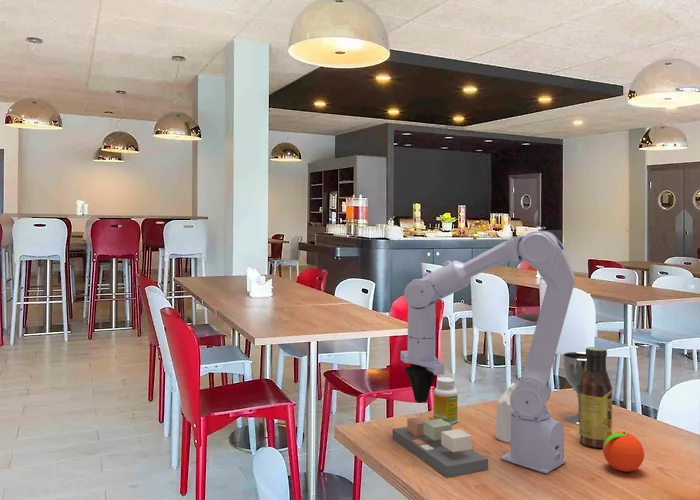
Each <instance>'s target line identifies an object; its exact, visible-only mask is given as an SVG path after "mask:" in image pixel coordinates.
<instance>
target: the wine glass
mask: <svg viewBox="0 0 700 500" xmlns="http://www.w3.org/2000/svg"><path fill="white" fill-rule="evenodd" d="M562 357H563V358H562V359H563V361H562V363H563V371H564V377H565V378H566V380H567V382H568V383H569V384H570V386H571V387H572V388H573V389H574V391H575V393H576V395H577V403H578V404H577V405H578V406H577V407H578V411H577V413H569V414H565V415H564V416H563V419H564V420H565V421H567V422H570V423H573V424H577V425H579V415H580V381H581V378H582V376H583V375H584V373H585V372H586V370H587V368H586V365H587V356H586V352H581V351H580V352H579V351H578V352H576V351H575V352H574V351H570V352H565V353H563V356H562Z"/></svg>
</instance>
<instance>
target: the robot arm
mask: <svg viewBox="0 0 700 500" xmlns="http://www.w3.org/2000/svg"><path fill="white" fill-rule="evenodd" d="M523 261H525V263H526V264H527V265H529V266H531V267H532V268H533V269H535V270H536V271H537V272H538V274H539V275H540V277H541V278H542V280H543V281H544V283H545V284H546V287H545V292H544V296H543V299H542V302H541V303H542V304H541V306H540V311H539V313H538V318H537V321H536V324H535V325H536V326H535V330H534V331H533V337H532V340H531V343H530V347H529V351H528V355H527V360H526V363H525V367H524V369H523V371H522V374H521V377H520V380H519V381H518V385H517V386H516V388H515V389H514V390H513V392H512V393H511V396H510V404H511V407H512V409H511V440H510V443H509V445H510V446H509V448H510V449H509V452H507V453H505V454H503V455H502V456H500V459H501V460H503V461H505V462H509V463H512V464H515V465H518V466H521V467H525V468H527V469H530V470H534V471H537V472H539V473H543V474H549V473H550V472H552V471H553V470H554V469H557V468H559V466H562V465H563V464H565V463H566V459H565V428H564V425H563V423H562V422H561V421H558V420H556V419H554V418H553V417H552V416H551V411H550V410H549V409H548V407H547V405H546V404H547V402H548V401H549V400H550V396H551V386H550V377H551V373H552V366H553V363H554V360H555V356H556V353H557V349H558V345H559V341H560V338H561V334H562V331H563V327H564V324H565V319H566V316H567V313H568V308H569V305H570V302H571V298H572V294H573V291H574V287H575V283H576V277H575V274H574V271H573V267H572V266H571V265H572V264H571V263H570V260H569V257H568V255H567V252H566V247H565V246H564V245H563V243H562V242H561V241H560V240H559V239H558V238H557V236H556V235H555V234H554V233H553V232H550V231H547V230H534V231H530V232H528V233H527V234H525V235H521V236H516V237H514V238H511V239H509V240H505V241H503V242H501V243H500V244H497V245H495V246H493V247H492V248H490V249H488V250H486V251H483V253H481V254H478V255H477V256H475V257H473V258H471V259H470V260H467V261H466V262H461V261H459V260H453V261H451V260H447V261H445V262H443V263H442V265H443V266H440V267H439V268H437V269H435V270H433V271H432V272H429V271H427V272H424V273H423V278H413V279H412V280H411V281H410V282H409V283H408V284H407V285H406V286H405V288H404V291H403V293H404V294H403V295H404V298H405V299H404V300H405V301H406V303H407V306H408V307H407V350H401V351H400V361H402V362H403V363H404V364H411V365H410V366H406V367H405V368H404V371H405V373H406V375H407V377H408V379H409V383H410V384H411V389H412V392H413V397H414V401H415V402H416V403H418V404H421V403H422V404H423V403H427V402H428V399H429V395H430V392H431V387H432V385H433V382H434V380H435V379H436V377H437V376H440V375H442V376H443V375H445V364H443V363H441V361H440V360H439V359H438V358H437V357H436V327H437V326H436V317H437V316H436V302H437V301H439V299H440V300H442V299H444V298H446V297H448V296H451V295H452V294H454V293H456V292H458V291H460V290H462V289H465V288H467V287H468V286H469V285H470V283H471V279H472V277H474V276H477V275H478V274H481V273H483V272H485V271H488V270H490V269H492V268H494V267H496V266H497V267H498V265H501V264H503V263H505V262H515V263H516V262H523Z"/></svg>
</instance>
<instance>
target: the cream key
mask: <svg viewBox="0 0 700 500" xmlns="http://www.w3.org/2000/svg"><path fill="white" fill-rule="evenodd" d="M441 445H443V446H444V447H446V448H447V449H449V450H450V451H452V452H457V451H463V450H468V449H472V435H471V434H469V433H467V432H465V430H462V429H460V428H455V429H452V430H449V431H443V432H441Z"/></svg>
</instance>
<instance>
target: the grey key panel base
mask: <svg viewBox="0 0 700 500" xmlns="http://www.w3.org/2000/svg"><path fill="white" fill-rule="evenodd" d="M391 431H392V437H391V438H392V439H393V440H394V441H395V442H396V443H398V444H400V445H402V447H404V448H406V449H407V450H408V451H409V452H411V453H412V454H413V455H415V456H416V457H417V458H419V459H420V460H422V461H423V462H425V463H426V464H428V465H429V466H430V467H431V468H433V469H434V470H436V471H437V472H439V473H440V474H441V475H442V476H444V477H446V478H450V477H456V476H457V477H458V476H462V475H466V474H473V473H477V472H482V471H488V470H489V458H488V457H486V456H484V455H483V454H481V453H479V452H478V451H476V450H474V449H473V448H471V449H468V450H463V451H457V452H452V451H450V450H449V449H447V448H446V447H444V446H443V445H441V439H439V440H433V439H431V438H430V437H428V436H427V435H424V436H418V437H417V436H415V435H414V434H412V433H411V432H409V431H408V430H407V426H403V427H397V428H392V430H391Z"/></svg>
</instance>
